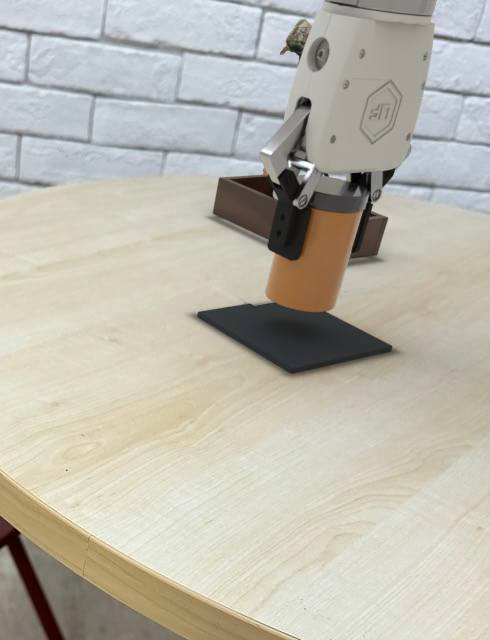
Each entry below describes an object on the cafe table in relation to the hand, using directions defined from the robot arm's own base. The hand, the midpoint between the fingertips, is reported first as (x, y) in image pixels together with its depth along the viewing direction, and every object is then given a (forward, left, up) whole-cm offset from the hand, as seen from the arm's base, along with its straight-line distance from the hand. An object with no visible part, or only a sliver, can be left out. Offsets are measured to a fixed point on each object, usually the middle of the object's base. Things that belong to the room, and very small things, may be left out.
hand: (313, 249), depth 69 cm
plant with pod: (-33, -36, -8) cm, 49 cm away
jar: (0, 0, -4) cm, 4 cm away
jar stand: (-20, -21, -7) cm, 30 cm away
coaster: (0, 0, -7) cm, 7 cm away
